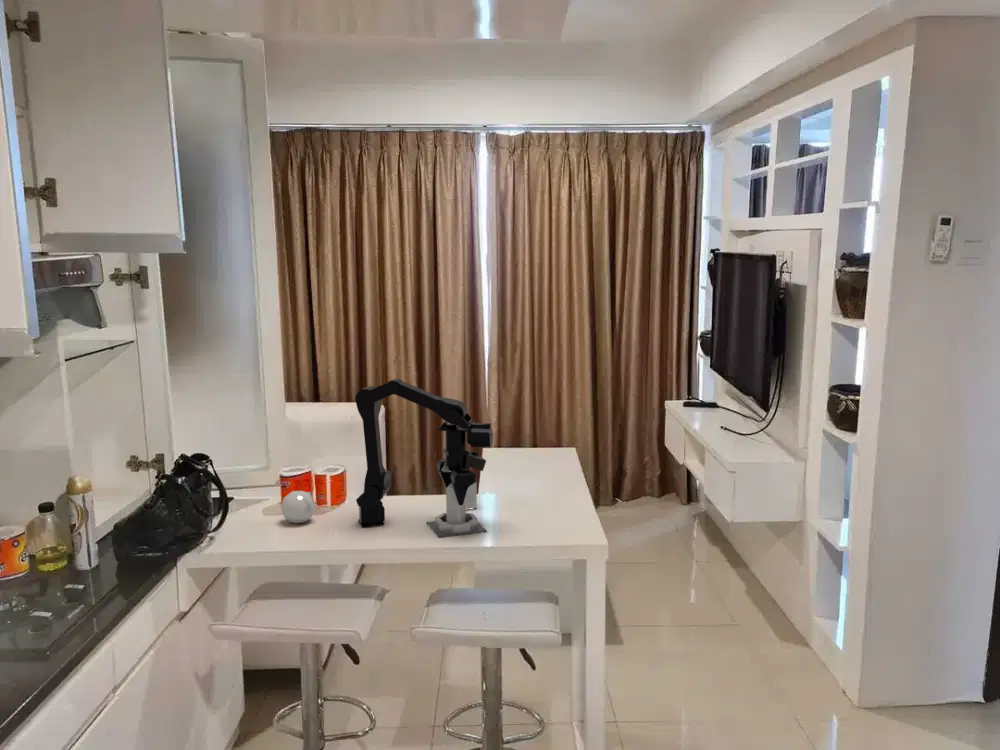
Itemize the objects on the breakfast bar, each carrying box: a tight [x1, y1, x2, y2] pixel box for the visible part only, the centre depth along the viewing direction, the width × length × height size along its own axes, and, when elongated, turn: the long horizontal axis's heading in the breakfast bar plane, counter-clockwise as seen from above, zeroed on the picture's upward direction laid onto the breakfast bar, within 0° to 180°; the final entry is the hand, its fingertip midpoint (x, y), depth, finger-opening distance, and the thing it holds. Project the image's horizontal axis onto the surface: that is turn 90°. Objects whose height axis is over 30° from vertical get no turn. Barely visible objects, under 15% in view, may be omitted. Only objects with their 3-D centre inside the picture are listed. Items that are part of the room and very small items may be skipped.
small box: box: [465, 481, 478, 509], centre depth 232 cm, size 8×6×10 cm
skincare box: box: [445, 484, 467, 524], centre depth 213 cm, size 6×4×12 cm
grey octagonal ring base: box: [426, 512, 488, 539], centre depth 213 cm, size 14×13×3 cm
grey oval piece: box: [280, 490, 316, 524], centre depth 220 cm, size 9×10×15 cm
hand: (456, 500), depth 213 cm, fingers open, 9 cm apart
